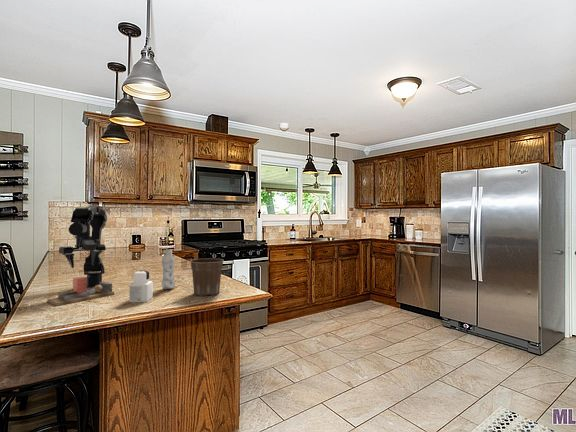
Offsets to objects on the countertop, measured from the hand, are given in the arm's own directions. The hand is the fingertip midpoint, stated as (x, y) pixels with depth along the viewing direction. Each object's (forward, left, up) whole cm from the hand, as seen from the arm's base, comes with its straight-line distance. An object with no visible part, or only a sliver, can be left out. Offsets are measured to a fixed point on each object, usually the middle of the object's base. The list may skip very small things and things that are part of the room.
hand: (83, 266), depth 161 cm
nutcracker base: (+4, +8, -13) cm, 16 cm away
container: (-10, +32, -13) cm, 36 cm away
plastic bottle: (-30, +24, -13) cm, 41 cm away
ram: (+3, +8, -12) cm, 14 cm away
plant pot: (-36, +46, -13) cm, 60 cm away
